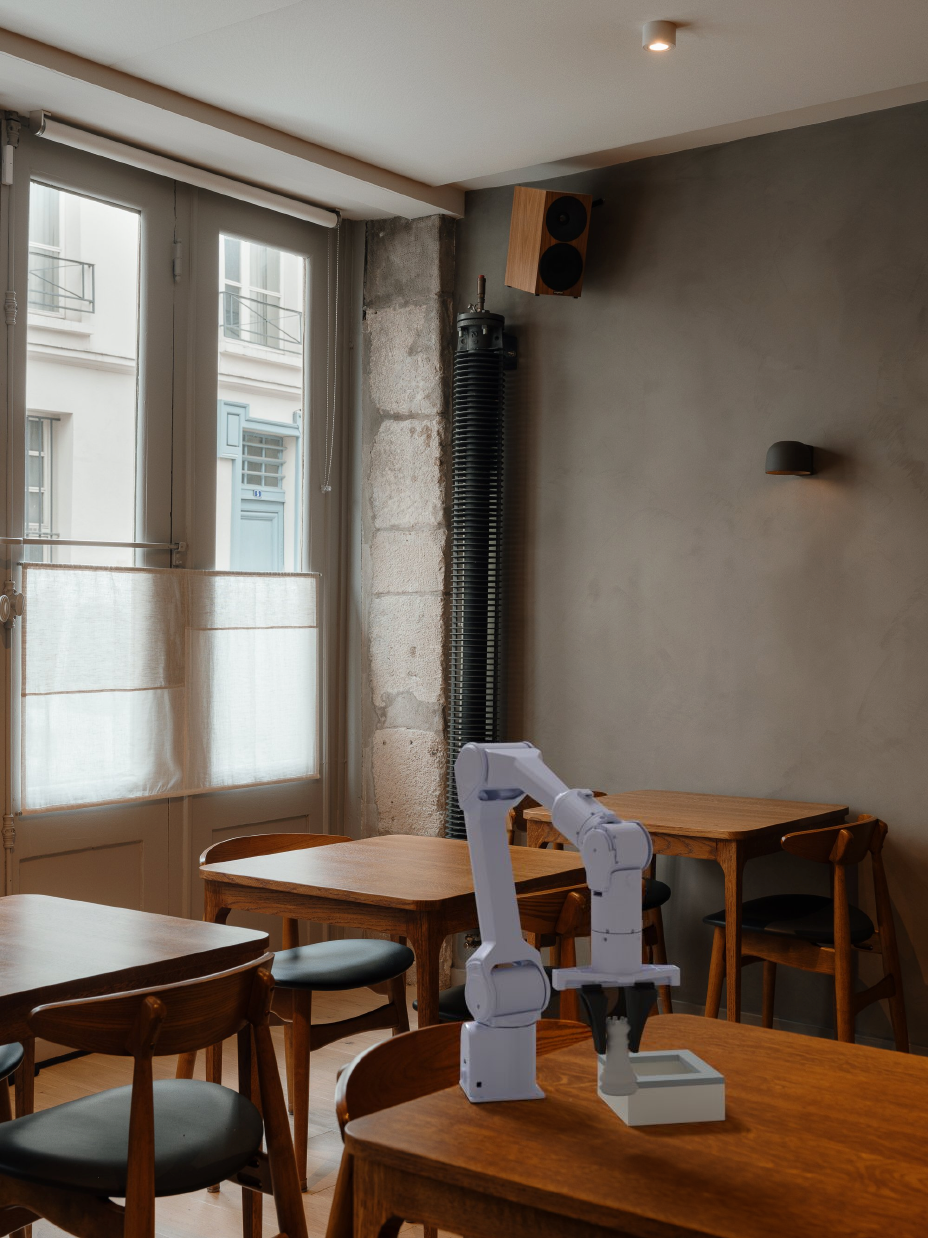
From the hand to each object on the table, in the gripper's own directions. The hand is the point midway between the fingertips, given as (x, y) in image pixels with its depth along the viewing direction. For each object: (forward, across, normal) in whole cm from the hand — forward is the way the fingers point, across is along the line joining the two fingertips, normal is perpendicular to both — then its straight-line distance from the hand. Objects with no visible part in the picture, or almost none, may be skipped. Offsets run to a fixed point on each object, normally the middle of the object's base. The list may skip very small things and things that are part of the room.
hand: (616, 1051), depth 143 cm
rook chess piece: (+4, 0, 0) cm, 5 cm away
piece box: (+10, +9, +11) cm, 17 cm away
